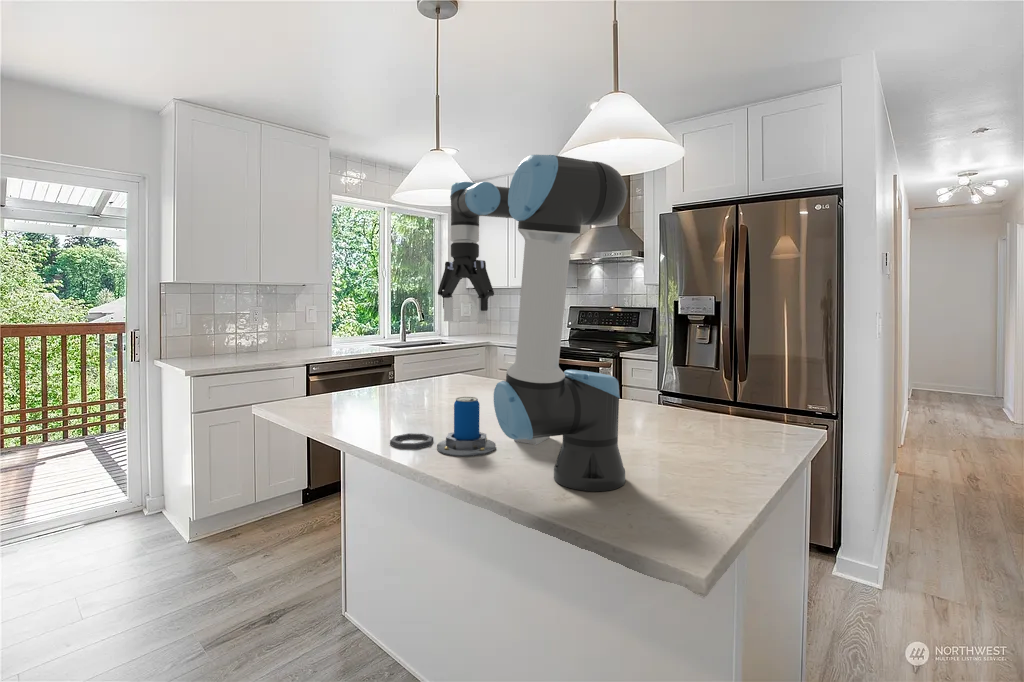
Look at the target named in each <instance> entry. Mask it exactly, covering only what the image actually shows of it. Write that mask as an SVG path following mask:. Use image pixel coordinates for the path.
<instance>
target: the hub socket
mask: <svg viewBox="0 0 1024 682" xmlns="http://www.w3.org/2000/svg"><path fill="white" fill-rule="evenodd" d="M496 447H497V445H496V442H494V441H493V440H490V439H488V437H487V433H484V432H480V431H479V438H476V439H472V440H459V439H456V438H454V431H453V432H448V434H446V436H445V440H442V441H439V442H438V443H437V444H436V450H437V451H438V453H441V454H443V455H447V456H451V457H462V458H466V457H467V458H468V457H478V456H483V455H484V456H485V455H488V454H490V453H492V452H495V450H496Z"/></svg>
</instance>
